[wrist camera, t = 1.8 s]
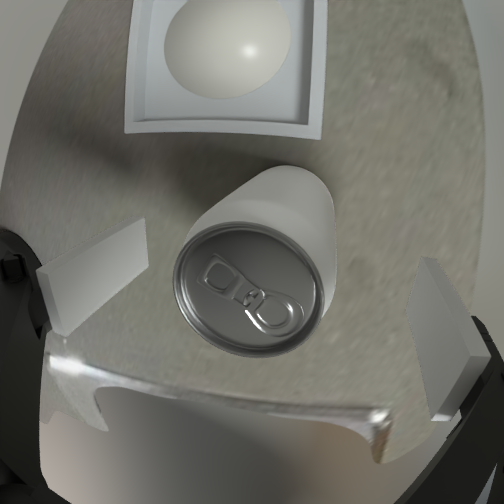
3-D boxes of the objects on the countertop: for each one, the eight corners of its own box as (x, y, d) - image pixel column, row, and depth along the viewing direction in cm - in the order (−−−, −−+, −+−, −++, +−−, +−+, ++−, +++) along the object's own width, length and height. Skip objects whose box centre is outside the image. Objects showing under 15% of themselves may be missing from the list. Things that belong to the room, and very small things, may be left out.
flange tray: (139, 131, 22) (124, 133, 20) (152, -21, 16) (138, -29, 15) (321, 138, 19) (320, 140, 17) (327, -35, 14) (326, -49, 12)
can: (298, 269, 23) (267, 388, 13) (227, 218, 23) (140, 303, 12) (353, 201, 20) (376, 287, 10) (275, 145, 20) (212, 169, 9)
